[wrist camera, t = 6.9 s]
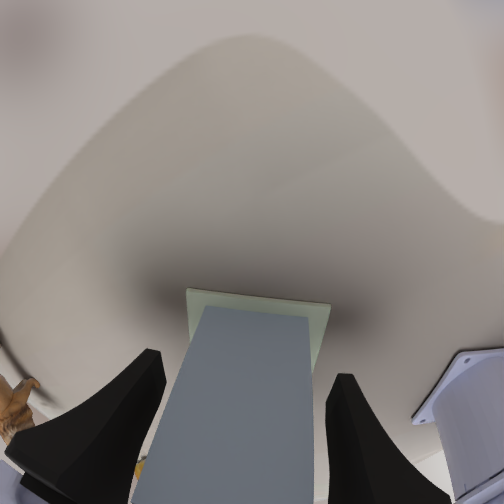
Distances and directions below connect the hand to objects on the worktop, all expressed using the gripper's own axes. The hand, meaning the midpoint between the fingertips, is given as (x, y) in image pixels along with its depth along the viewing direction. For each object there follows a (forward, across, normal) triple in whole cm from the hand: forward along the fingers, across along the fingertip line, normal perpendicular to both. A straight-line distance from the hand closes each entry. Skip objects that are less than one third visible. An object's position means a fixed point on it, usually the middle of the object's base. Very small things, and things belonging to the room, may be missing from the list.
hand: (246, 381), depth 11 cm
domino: (+4, 0, 0) cm, 4 cm away
